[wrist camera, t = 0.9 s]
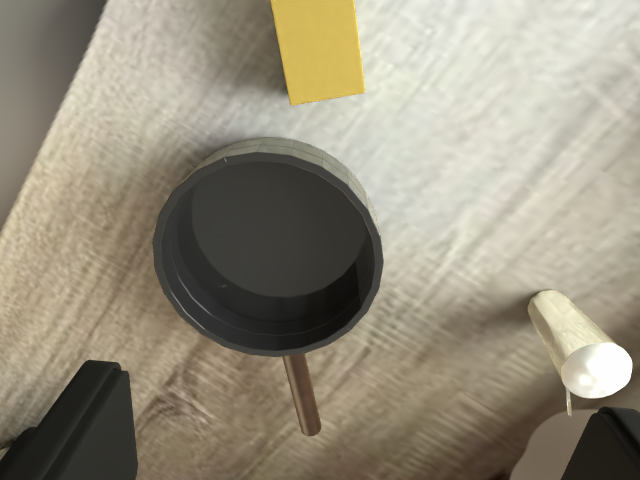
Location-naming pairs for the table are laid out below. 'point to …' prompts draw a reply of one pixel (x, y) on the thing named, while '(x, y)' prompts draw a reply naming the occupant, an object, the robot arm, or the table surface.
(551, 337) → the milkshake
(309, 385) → the pan handle
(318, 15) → the sponge
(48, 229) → the table surface
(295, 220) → the pan
